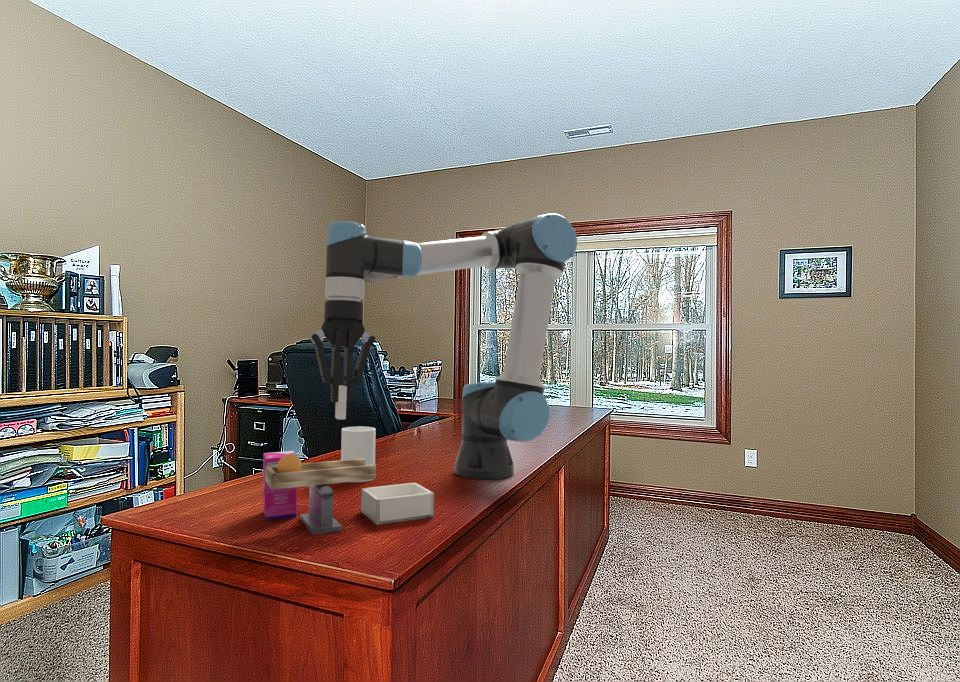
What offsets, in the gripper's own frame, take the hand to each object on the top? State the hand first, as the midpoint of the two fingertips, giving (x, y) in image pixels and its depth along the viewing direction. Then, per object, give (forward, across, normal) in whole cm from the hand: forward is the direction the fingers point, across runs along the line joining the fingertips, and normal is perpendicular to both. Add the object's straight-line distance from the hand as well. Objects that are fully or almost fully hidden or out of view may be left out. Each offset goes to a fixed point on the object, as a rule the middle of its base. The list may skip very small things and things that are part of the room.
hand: (340, 418), depth 115 cm
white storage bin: (+17, -9, +10) cm, 22 cm away
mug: (+18, -11, -24) cm, 32 cm away
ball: (+7, +11, +10) cm, 16 cm away
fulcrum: (+18, +5, +10) cm, 21 cm away
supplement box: (+18, +11, +1) cm, 21 cm away
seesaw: (+10, +6, +7) cm, 13 cm away
